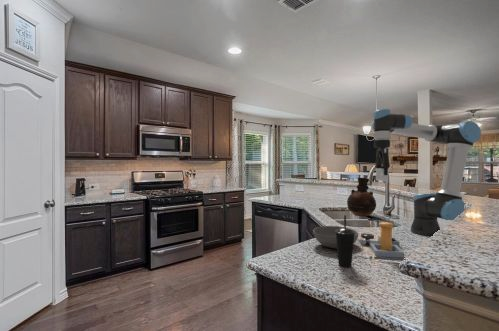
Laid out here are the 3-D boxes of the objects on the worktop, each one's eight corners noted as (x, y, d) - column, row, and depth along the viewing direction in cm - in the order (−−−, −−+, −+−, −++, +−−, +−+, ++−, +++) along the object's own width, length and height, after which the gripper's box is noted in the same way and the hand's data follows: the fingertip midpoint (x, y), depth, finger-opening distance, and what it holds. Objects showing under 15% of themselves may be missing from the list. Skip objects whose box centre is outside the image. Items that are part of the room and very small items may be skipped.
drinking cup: (354, 263, 114) (355, 214, 114) (355, 269, 107) (355, 217, 107) (335, 261, 117) (335, 213, 117) (334, 267, 110) (334, 216, 110)
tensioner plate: (396, 244, 140) (396, 233, 140) (403, 252, 128) (403, 240, 128) (357, 242, 144) (358, 231, 144) (361, 249, 132) (361, 237, 132)
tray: (396, 252, 128) (396, 244, 128) (404, 261, 117) (404, 252, 117) (370, 251, 130) (370, 243, 130) (375, 259, 119) (375, 250, 119)
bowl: (359, 244, 142) (359, 228, 142) (356, 256, 123) (356, 238, 123) (317, 239, 151) (317, 224, 151) (308, 250, 132) (308, 233, 132)
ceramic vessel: (346, 217, 214) (346, 177, 213) (347, 213, 230) (347, 176, 230) (376, 218, 206) (376, 178, 206) (375, 214, 222) (375, 177, 222)
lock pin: (391, 252, 126) (391, 222, 126) (394, 256, 120) (394, 225, 120) (377, 252, 127) (377, 221, 127) (380, 256, 121) (380, 224, 121)
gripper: (369, 141, 157) (369, 179, 157) (379, 137, 133) (379, 182, 133) (383, 141, 155) (383, 179, 155) (396, 137, 131) (396, 182, 131)
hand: (381, 181), depth 144 cm, fingers open, 13 cm apart
